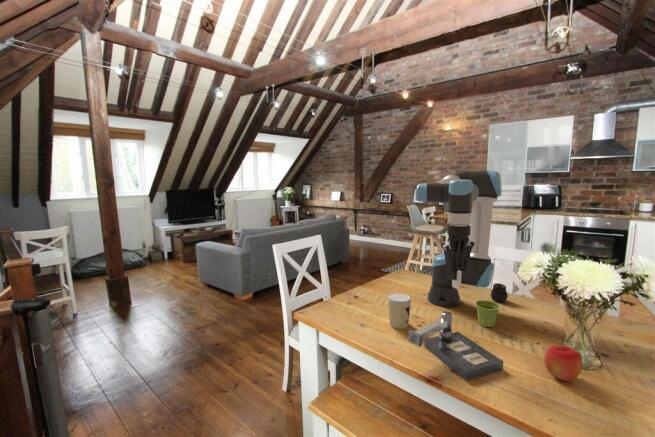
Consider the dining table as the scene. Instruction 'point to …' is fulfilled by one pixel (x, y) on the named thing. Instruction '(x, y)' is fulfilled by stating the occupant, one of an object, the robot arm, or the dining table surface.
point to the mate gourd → (499, 292)
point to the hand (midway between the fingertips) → (456, 287)
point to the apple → (563, 362)
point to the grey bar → (431, 329)
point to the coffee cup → (399, 310)
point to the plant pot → (487, 312)
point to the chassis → (463, 355)
